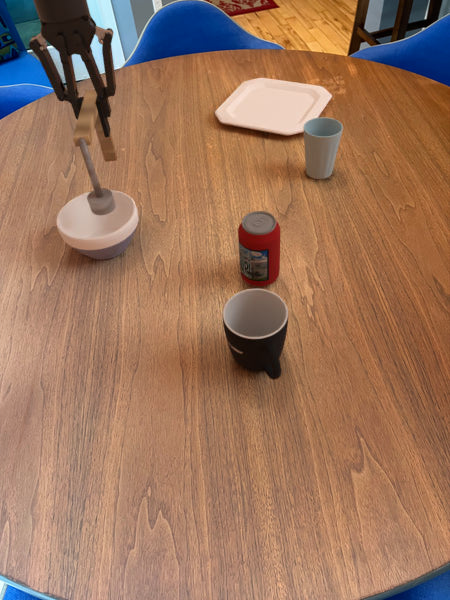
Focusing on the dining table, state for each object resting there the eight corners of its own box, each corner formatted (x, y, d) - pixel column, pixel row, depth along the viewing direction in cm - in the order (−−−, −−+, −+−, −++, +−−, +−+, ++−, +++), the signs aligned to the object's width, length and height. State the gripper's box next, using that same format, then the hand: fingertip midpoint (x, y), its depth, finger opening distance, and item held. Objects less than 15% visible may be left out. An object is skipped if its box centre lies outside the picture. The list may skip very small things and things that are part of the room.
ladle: (114, 214, 84) (92, 142, 73) (89, 216, 84) (64, 145, 73) (122, 156, 96) (104, 88, 85) (100, 159, 96) (80, 91, 85)
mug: (218, 342, 74) (212, 299, 67) (271, 324, 76) (271, 280, 68) (248, 406, 67) (245, 366, 59) (306, 384, 68) (310, 342, 61)
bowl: (92, 215, 98) (82, 183, 92) (157, 227, 94) (149, 195, 88) (53, 263, 89) (39, 231, 83) (122, 278, 85) (112, 246, 79)
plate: (248, 83, 132) (248, 75, 130) (336, 96, 124) (337, 87, 122) (207, 126, 118) (206, 118, 116) (303, 145, 110) (303, 136, 108)
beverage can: (232, 275, 84) (228, 222, 75) (260, 256, 86) (259, 202, 77) (260, 296, 80) (258, 242, 71) (287, 275, 83) (289, 221, 74)
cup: (304, 159, 106) (307, 115, 98) (339, 164, 104) (345, 118, 96) (297, 179, 101) (299, 134, 93) (333, 184, 99) (339, 138, 91)
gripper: (111, -27, 72) (142, 119, 90) (9, -17, 72) (60, 128, 90) (106, -11, 67) (140, 140, 85) (-3, 0, 67) (53, 149, 85)
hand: (99, 134), depth 87 cm, fingers closed on ladle, 2 cm apart
